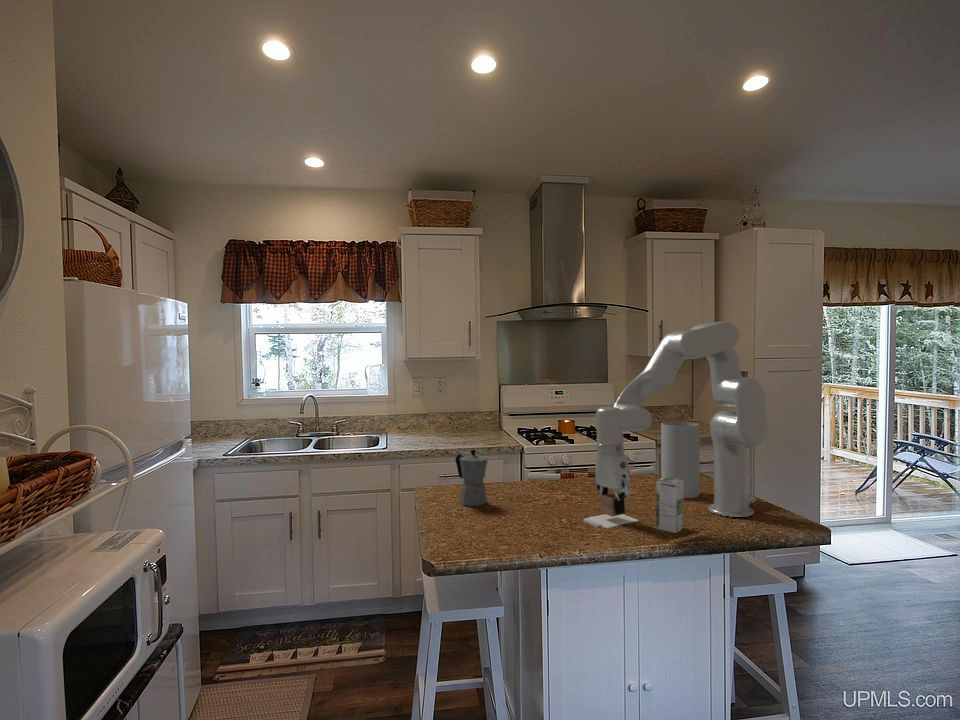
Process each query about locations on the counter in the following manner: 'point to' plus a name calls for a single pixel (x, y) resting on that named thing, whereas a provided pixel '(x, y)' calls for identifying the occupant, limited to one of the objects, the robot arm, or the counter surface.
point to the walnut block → (609, 504)
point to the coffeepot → (472, 478)
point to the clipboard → (609, 520)
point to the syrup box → (669, 504)
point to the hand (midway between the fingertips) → (612, 510)
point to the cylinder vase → (681, 455)
